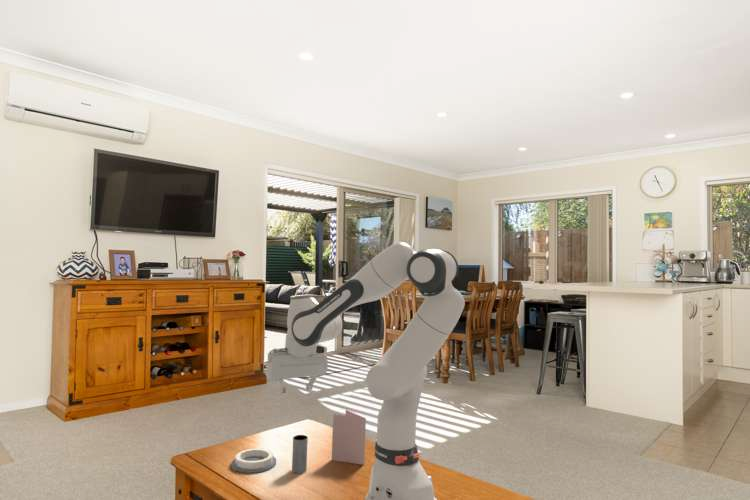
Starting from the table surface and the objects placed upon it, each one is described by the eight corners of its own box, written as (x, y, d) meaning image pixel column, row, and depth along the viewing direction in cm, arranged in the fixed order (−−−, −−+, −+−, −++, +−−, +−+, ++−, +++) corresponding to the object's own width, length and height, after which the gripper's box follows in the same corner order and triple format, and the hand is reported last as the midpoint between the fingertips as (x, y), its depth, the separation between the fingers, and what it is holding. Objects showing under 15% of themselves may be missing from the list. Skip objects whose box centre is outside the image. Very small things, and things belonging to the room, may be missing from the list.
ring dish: (282, 468, 152) (282, 459, 153) (238, 476, 145) (238, 467, 145) (268, 452, 164) (268, 444, 164) (226, 460, 157) (226, 451, 157)
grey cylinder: (303, 474, 148) (304, 440, 149) (289, 472, 149) (290, 439, 150) (308, 468, 153) (309, 435, 153) (294, 466, 154) (296, 434, 154)
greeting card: (366, 464, 158) (367, 417, 158) (347, 469, 153) (349, 421, 154) (346, 453, 167) (347, 409, 167) (328, 457, 162) (329, 412, 163)
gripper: (272, 351, 144) (269, 397, 143) (331, 347, 156) (328, 390, 155) (264, 347, 149) (260, 391, 149) (321, 344, 161) (318, 385, 161)
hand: (295, 391), depth 152 cm, fingers open, 8 cm apart
